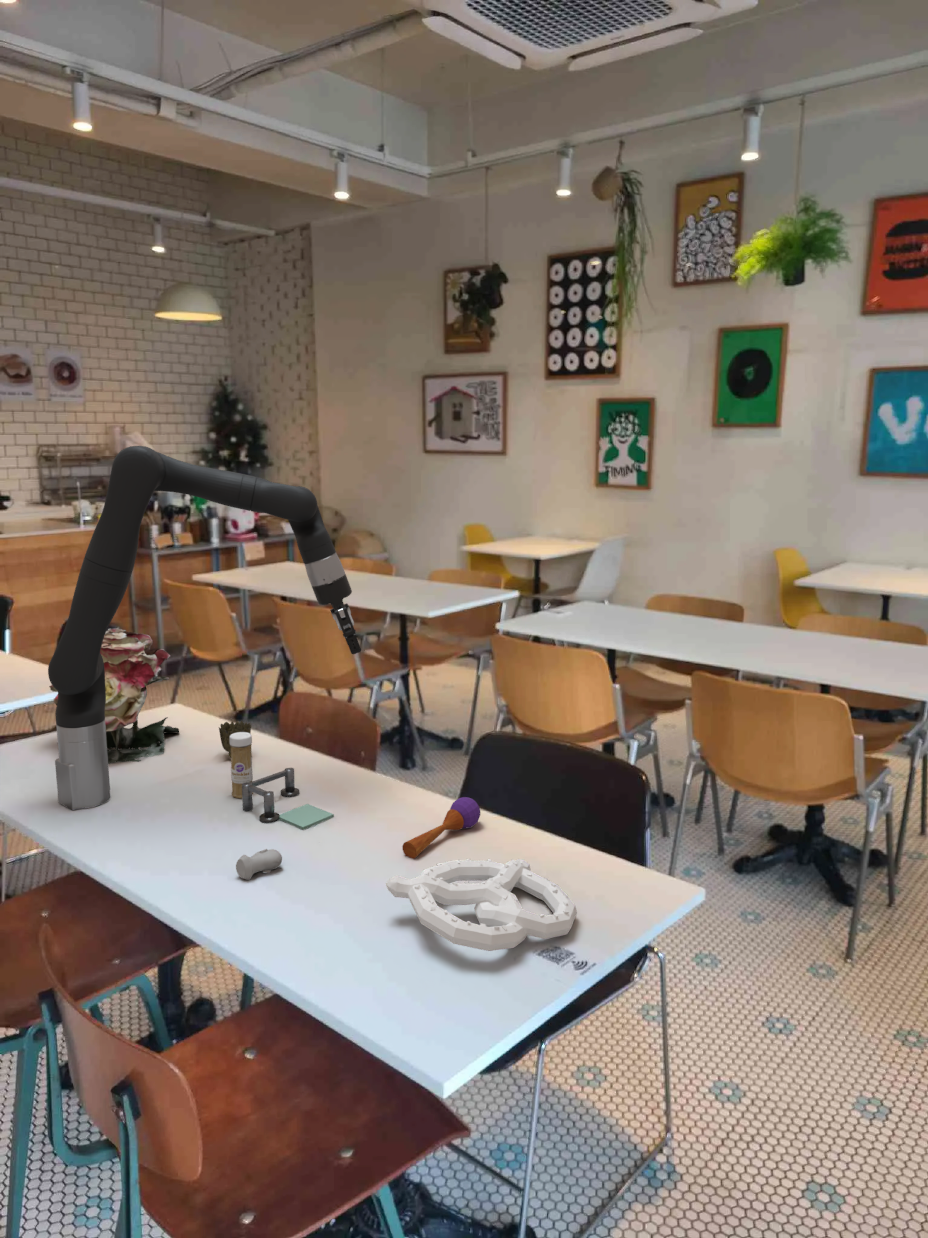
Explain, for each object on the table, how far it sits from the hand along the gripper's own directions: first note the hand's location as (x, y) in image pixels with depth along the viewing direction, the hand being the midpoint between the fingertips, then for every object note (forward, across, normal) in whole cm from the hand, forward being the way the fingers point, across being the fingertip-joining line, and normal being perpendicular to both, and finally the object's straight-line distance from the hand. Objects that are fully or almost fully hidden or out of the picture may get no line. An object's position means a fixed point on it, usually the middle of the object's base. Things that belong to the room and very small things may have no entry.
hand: (354, 648), depth 188 cm
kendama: (+34, +30, +2) cm, 46 cm away
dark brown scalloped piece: (+20, -22, -35) cm, 46 cm away
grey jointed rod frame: (+24, +9, -26) cm, 36 cm away
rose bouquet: (+10, -33, -62) cm, 71 cm away
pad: (+25, +16, -21) cm, 37 cm away
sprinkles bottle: (+21, +1, -33) cm, 39 cm away
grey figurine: (+23, +37, -30) cm, 53 cm away
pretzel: (+35, +59, +4) cm, 69 cm away
